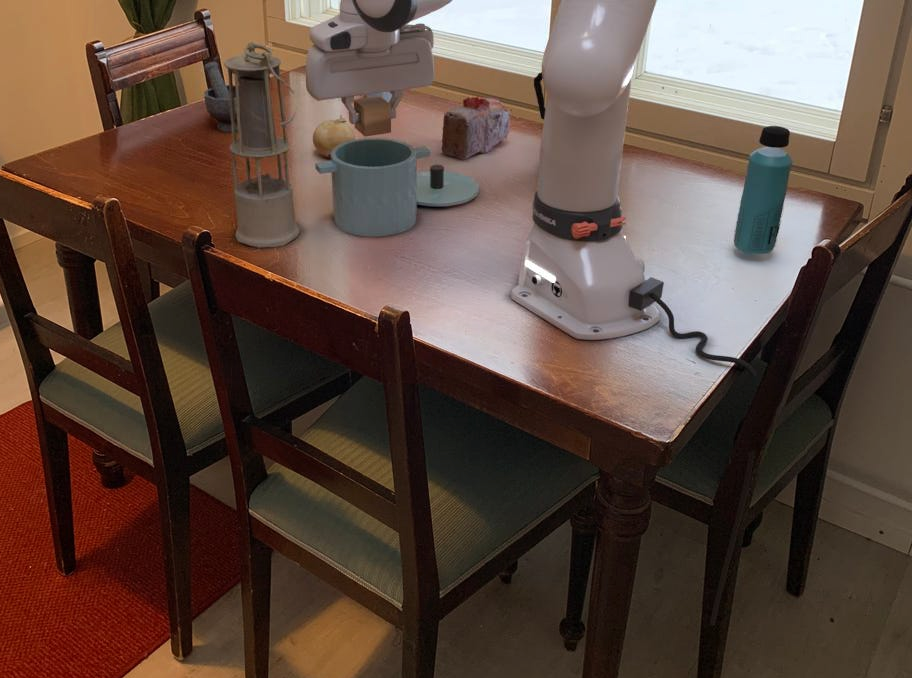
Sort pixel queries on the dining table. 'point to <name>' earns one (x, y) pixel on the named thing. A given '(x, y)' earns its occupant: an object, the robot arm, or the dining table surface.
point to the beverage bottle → (764, 193)
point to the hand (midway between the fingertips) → (372, 120)
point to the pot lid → (444, 187)
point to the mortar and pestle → (220, 99)
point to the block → (373, 116)
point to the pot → (374, 185)
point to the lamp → (260, 152)
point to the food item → (474, 127)
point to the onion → (331, 135)
